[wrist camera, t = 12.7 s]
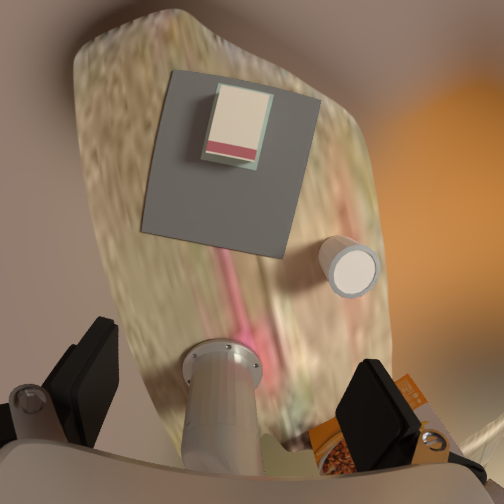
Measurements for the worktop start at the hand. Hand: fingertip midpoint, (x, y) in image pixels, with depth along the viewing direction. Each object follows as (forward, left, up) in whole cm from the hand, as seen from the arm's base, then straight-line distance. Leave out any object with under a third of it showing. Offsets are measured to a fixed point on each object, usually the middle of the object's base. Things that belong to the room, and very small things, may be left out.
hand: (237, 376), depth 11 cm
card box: (+11, +2, -29) cm, 32 cm away
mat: (+7, +2, -30) cm, 31 cm away
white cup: (-2, -15, -30) cm, 34 cm away
